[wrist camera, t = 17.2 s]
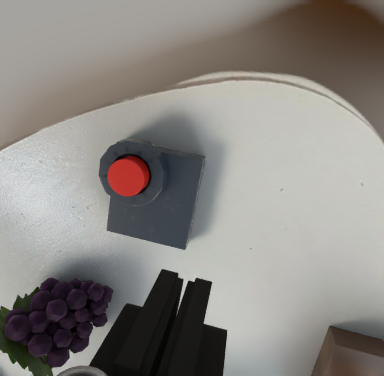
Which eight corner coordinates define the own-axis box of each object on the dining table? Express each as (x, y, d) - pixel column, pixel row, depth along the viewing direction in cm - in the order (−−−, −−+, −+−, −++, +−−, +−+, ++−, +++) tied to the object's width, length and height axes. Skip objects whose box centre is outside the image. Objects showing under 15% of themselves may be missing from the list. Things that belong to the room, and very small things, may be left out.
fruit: (131, 291, 45) (41, 351, 45) (79, 232, 41) (-17, 298, 42) (127, 346, 35) (12, 422, 36) (59, 275, 32) (-65, 360, 32)
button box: (118, 130, 36) (102, 135, 32) (207, 149, 35) (201, 156, 31) (108, 221, 39) (92, 235, 35) (188, 241, 38) (181, 258, 34)
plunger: (116, 152, 32) (109, 155, 31) (152, 160, 32) (146, 163, 30) (112, 187, 34) (105, 191, 32) (146, 194, 33) (141, 200, 32)
